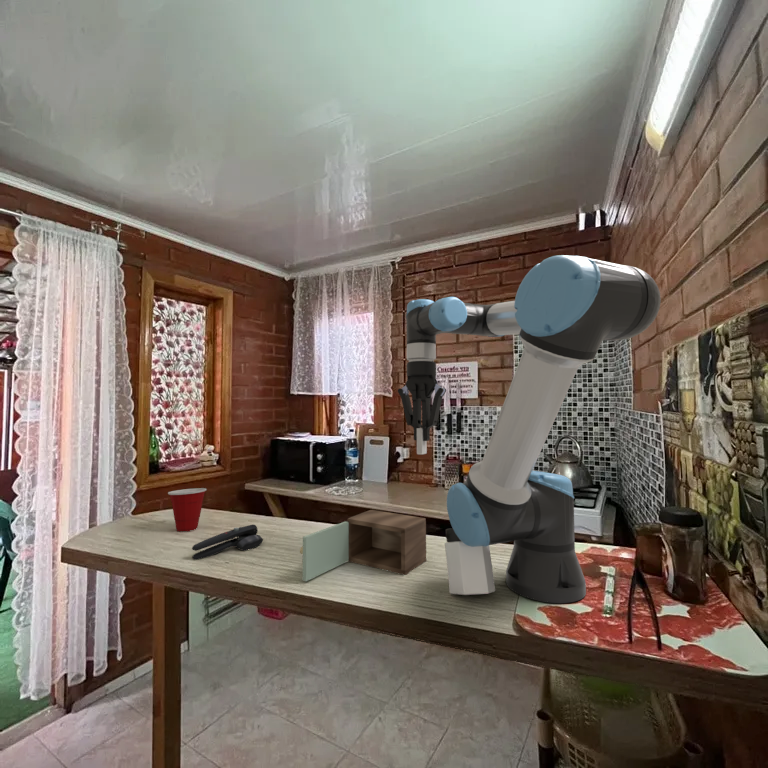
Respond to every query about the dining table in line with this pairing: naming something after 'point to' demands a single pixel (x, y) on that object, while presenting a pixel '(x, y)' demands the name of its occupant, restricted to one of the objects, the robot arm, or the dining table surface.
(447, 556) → the jar
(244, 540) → the can opener
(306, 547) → the door
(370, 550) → the case
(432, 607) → the dining table surface
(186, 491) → the plastic cup
